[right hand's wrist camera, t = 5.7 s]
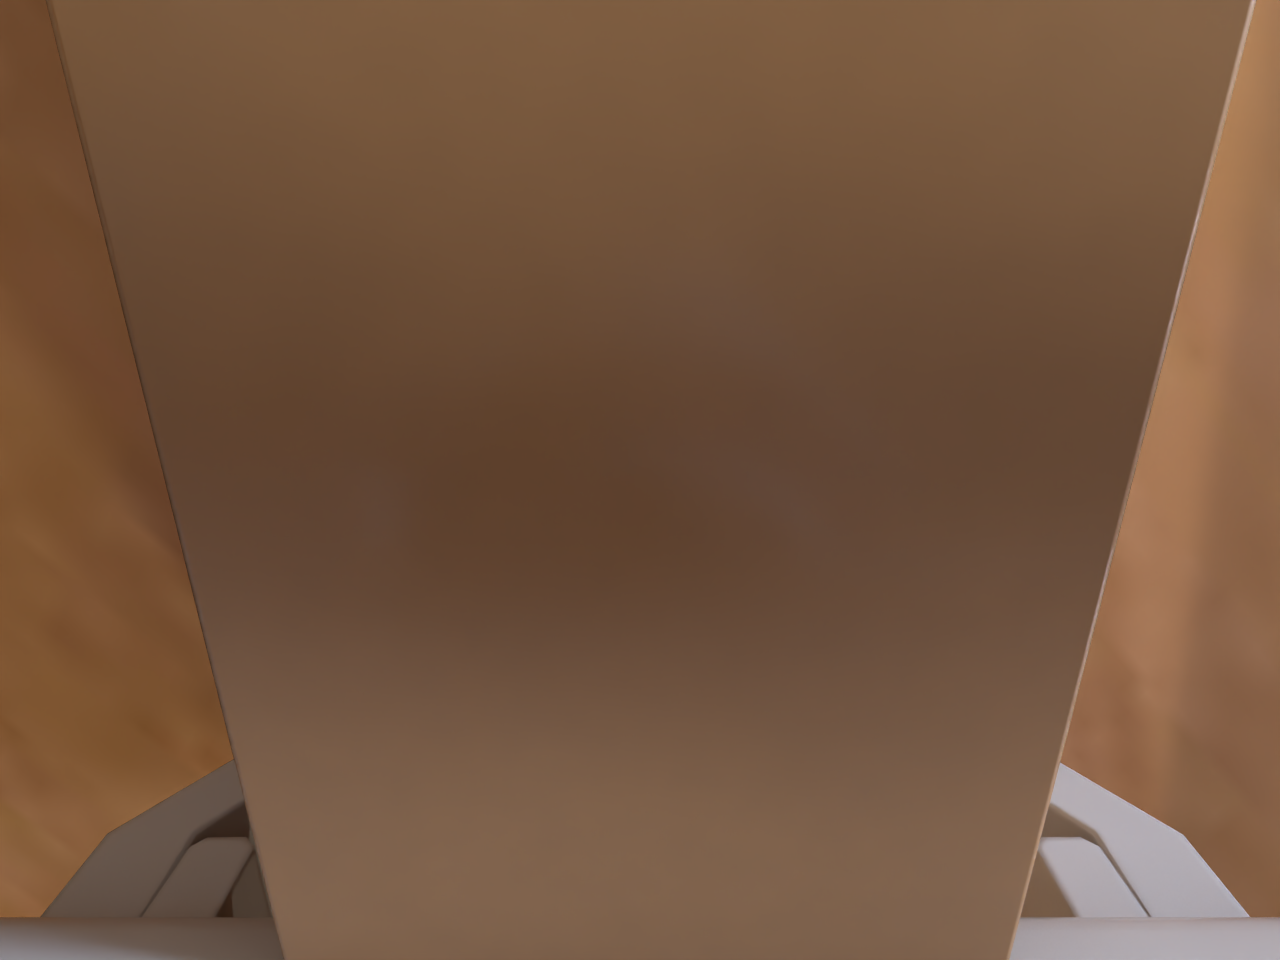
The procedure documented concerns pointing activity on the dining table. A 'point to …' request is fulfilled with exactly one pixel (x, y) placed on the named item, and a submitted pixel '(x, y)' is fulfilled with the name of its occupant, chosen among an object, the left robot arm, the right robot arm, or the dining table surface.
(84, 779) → the dining table surface
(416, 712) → the post
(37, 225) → the dining table surface
